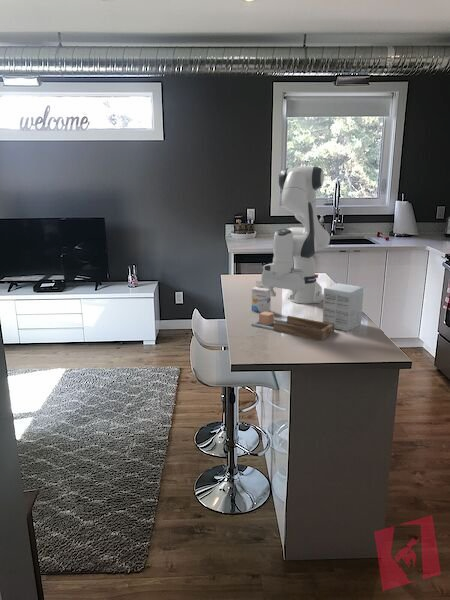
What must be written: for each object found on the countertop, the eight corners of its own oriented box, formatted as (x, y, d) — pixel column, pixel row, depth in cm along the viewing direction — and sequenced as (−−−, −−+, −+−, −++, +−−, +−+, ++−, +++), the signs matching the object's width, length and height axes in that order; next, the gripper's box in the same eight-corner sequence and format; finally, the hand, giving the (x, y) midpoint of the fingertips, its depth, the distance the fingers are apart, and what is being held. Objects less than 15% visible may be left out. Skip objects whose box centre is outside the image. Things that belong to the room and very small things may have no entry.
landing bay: (266, 318, 228) (266, 317, 228) (288, 322, 222) (288, 321, 222) (251, 325, 218) (251, 323, 218) (273, 330, 212) (273, 328, 212)
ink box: (251, 311, 241) (251, 282, 237) (255, 308, 245) (255, 280, 242) (266, 313, 237) (267, 284, 233) (270, 310, 241) (271, 282, 237)
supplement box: (335, 318, 227) (337, 282, 223) (361, 324, 219) (364, 286, 215) (321, 325, 218) (323, 288, 213) (348, 331, 209) (351, 292, 205)
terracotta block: (264, 321, 224) (264, 311, 223) (273, 323, 222) (274, 313, 220) (258, 324, 221) (258, 313, 219) (268, 326, 218) (268, 315, 216)
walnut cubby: (288, 322, 222) (288, 315, 221) (334, 332, 209) (334, 324, 208) (273, 330, 212) (274, 322, 211) (320, 340, 199) (321, 332, 198)
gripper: (307, 268, 206) (307, 299, 210) (267, 263, 218) (267, 292, 222) (301, 271, 201) (300, 303, 205) (259, 266, 213) (259, 296, 217)
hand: (282, 297), depth 214 cm, fingers open, 8 cm apart
